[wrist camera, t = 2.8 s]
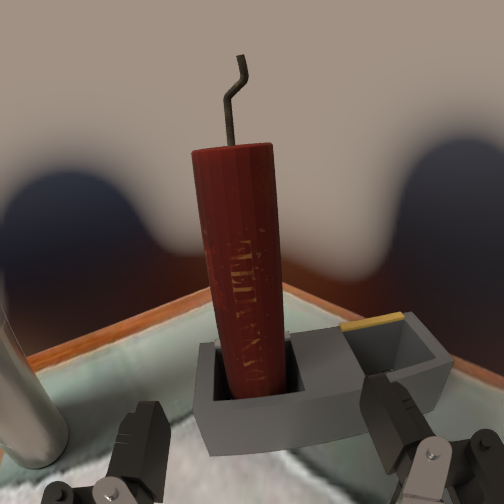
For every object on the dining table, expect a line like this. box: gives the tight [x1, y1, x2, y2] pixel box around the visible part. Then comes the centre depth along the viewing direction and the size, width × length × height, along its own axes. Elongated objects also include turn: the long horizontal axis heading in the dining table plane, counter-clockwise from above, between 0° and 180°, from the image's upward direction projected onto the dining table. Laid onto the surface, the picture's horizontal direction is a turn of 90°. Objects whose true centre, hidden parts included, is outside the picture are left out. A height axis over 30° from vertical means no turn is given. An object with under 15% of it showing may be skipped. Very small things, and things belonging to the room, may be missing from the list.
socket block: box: [193, 312, 454, 456], centre depth 25 cm, size 22×9×7 cm, turn 94°
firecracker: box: [191, 54, 286, 400], centre depth 21 cm, size 5×5×30 cm
